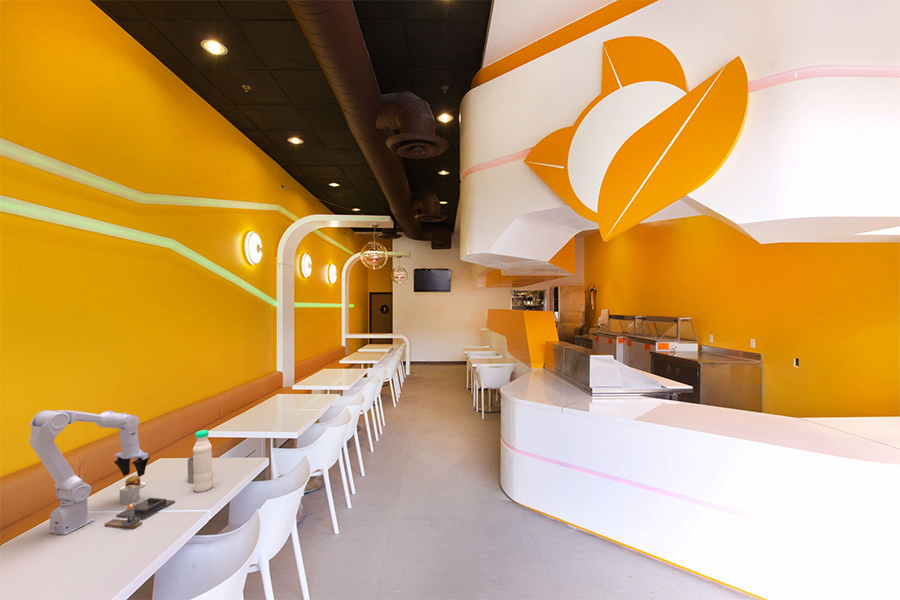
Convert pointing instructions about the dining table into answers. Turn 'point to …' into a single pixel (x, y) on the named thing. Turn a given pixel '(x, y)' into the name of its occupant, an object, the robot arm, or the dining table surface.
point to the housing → (129, 494)
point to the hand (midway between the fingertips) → (133, 475)
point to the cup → (190, 471)
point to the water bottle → (202, 462)
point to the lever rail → (118, 524)
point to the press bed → (148, 507)
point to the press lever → (130, 516)
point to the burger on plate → (133, 481)
